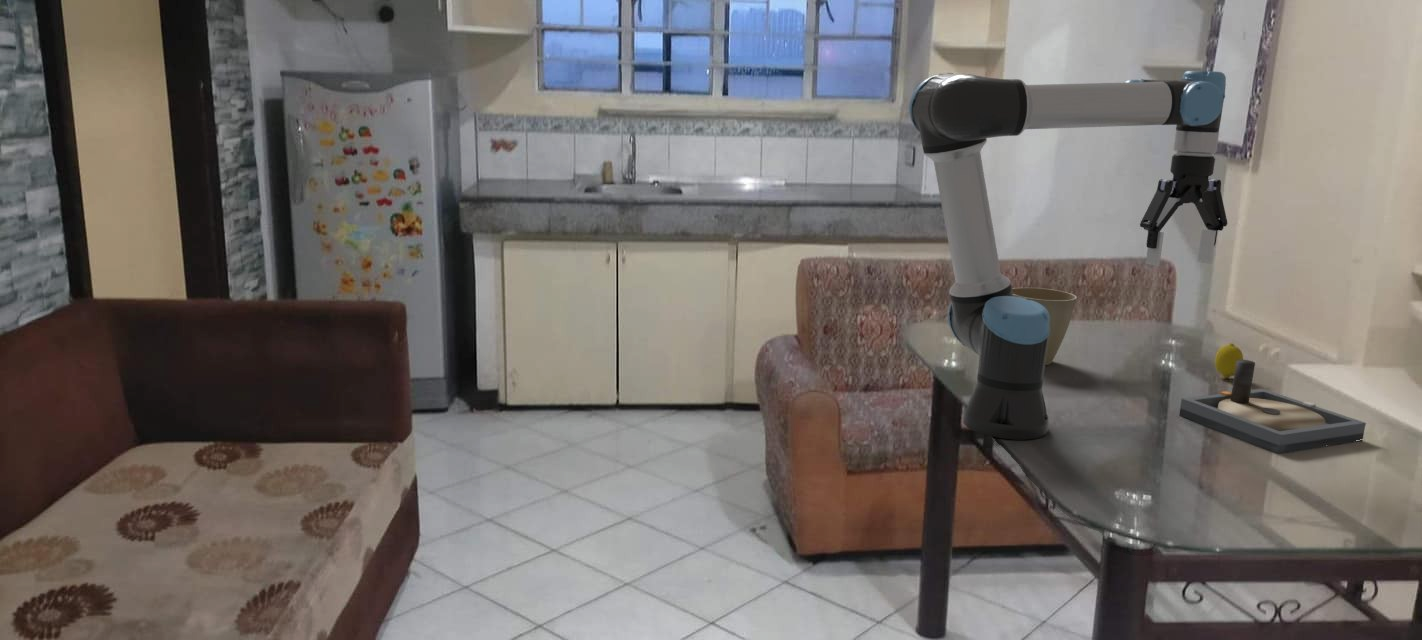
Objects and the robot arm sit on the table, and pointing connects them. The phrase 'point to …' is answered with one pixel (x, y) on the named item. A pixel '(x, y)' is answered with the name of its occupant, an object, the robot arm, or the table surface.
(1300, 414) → the dial
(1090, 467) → the table surface
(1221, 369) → the lemon
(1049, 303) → the plant pot
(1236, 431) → the dial frame
